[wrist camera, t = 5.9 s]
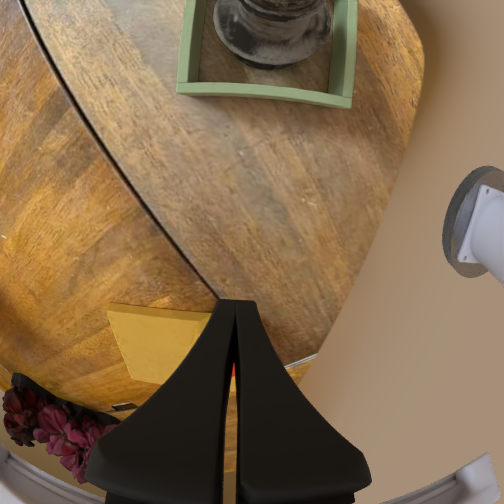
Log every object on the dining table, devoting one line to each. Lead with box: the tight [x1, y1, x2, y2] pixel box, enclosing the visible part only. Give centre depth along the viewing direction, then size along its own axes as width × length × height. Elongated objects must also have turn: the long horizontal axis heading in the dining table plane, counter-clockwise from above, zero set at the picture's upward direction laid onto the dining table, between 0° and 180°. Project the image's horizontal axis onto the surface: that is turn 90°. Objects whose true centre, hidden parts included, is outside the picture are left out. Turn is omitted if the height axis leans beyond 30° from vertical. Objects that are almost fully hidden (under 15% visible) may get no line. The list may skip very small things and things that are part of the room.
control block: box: [106, 302, 236, 392], centre depth 24 cm, size 14×12×3 cm
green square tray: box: [176, 0, 358, 109], centre depth 11 cm, size 9×9×3 cm
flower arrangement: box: [2, 373, 121, 484], centre depth 30 cm, size 31×20×15 cm, turn 86°
